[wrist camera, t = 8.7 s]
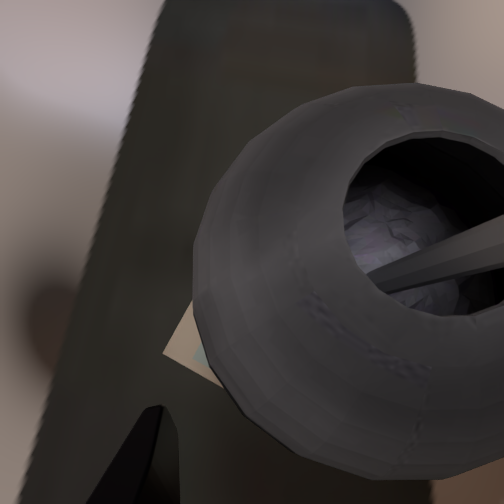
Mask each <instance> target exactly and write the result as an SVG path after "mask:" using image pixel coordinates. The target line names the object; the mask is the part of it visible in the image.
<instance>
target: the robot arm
mask: <svg viewBox="0 0 504 504" xmlns="http://www.w3.org/2000/svg"><path fill="white" fill-rule="evenodd" d="M85 504H180V484H179V451H178V433H177V429H176V426H175V424H174V422H173V420H172V418H171V415H170V413H169V411H168V409H167V407H166V406H165V405H163V404H161V405H156V406H152V407H148V408H146V409H145V410H144V411H143V412H142V414H141V415H140V417H139V418H138V420H137V422H136V423H135V425H134V426H133V428H132V430H131V431H130V433H129V434H128V436H127V438H126V439H125V441H124V442H123V444H122V446H121V447H120V449H119V450H118V452H117V454H116V455H115V457H114V458H113V460H112V462H111V463H110V465H109V466H108V468H107V470H106V471H105V473H104V474H103V476H102V477H101V479H100V481H99V482H98V484H97V485H96V487H95V489H94V490H93V492H92V493H91V495H90V497H89V498H88V500H87V501H86V503H85Z"/></svg>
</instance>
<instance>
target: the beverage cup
mask: <svg viewBox="0 0 504 504" xmlns="http://www.w3.org/2000/svg"><path fill="white" fill-rule="evenodd" d="M193 316H194V319H195V322H196V326H197V329H198V332H199V335H200V339H201V342H202V345H203V348H204V352H205V355H206V358H207V361H208V365H209V368H210V369H211V370H212V372H213V373H214V375H215V376H216V378H217V379H218V380H219V382H220V383H221V385H222V386H223V388H224V389H225V390H226V392H227V393H228V395H229V396H230V398H231V399H232V400H233V402H234V403H235V405H236V406H237V408H238V409H239V410H240V412H241V413H242V415H243V416H244V417H246V418H247V419H248V420H250V421H251V422H252V423H254V424H255V425H256V426H258V427H259V428H260V429H262V430H263V431H264V432H266V433H267V434H268V435H270V436H271V437H272V438H274V439H275V440H276V441H278V442H279V443H280V444H281V445H283V446H284V447H285V448H287V449H288V450H289V451H291V452H293V453H296V454H298V455H299V456H302V457H305V458H308V459H311V460H314V461H317V462H320V463H322V464H325V465H328V466H331V467H334V468H337V469H340V470H343V471H346V472H349V473H352V474H355V475H358V476H361V477H364V478H367V479H370V480H440V479H445V478H449V477H453V476H456V475H459V474H461V473H464V472H466V471H469V470H472V469H474V468H477V467H479V466H482V465H485V464H487V463H490V462H493V461H495V460H498V459H500V458H503V457H504V109H502V108H499V107H497V106H495V105H493V104H491V103H489V102H487V101H485V100H483V99H481V98H479V97H477V96H475V95H473V94H471V93H466V92H460V91H456V90H451V89H445V88H441V87H436V86H430V85H425V84H420V83H405V84H389V85H373V86H357V87H351V88H348V89H345V90H342V91H339V92H336V93H334V94H331V95H328V96H325V97H322V98H319V99H316V100H314V101H311V102H308V103H305V104H302V105H300V106H299V107H297V108H295V109H294V110H292V111H291V112H289V113H288V114H286V115H285V116H284V117H282V118H281V119H280V120H278V121H277V122H275V123H274V124H273V125H271V126H270V127H268V128H267V129H266V130H264V131H263V132H261V133H260V134H259V135H257V136H256V137H255V138H253V139H252V140H250V141H249V142H248V143H247V145H246V146H245V147H244V149H243V150H242V151H241V153H240V154H239V155H238V157H237V158H236V159H235V161H234V162H233V163H232V165H231V166H230V167H229V169H228V170H227V171H226V173H225V174H224V175H223V177H222V178H221V179H220V181H219V182H218V183H217V185H216V186H215V188H214V189H213V191H212V192H211V195H210V198H209V201H208V204H207V206H206V209H205V212H204V215H203V218H202V221H201V224H200V227H199V230H198V233H197V236H196V239H195V241H194V244H193Z"/></svg>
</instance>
